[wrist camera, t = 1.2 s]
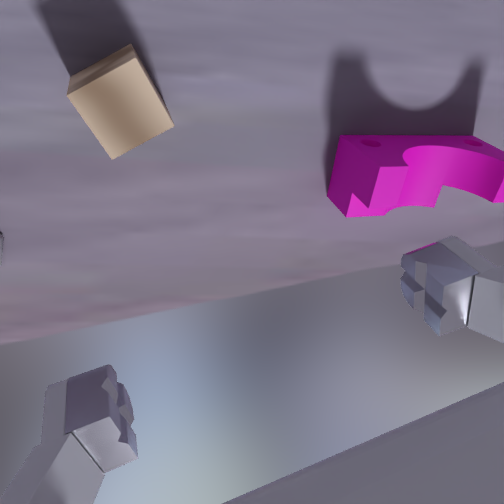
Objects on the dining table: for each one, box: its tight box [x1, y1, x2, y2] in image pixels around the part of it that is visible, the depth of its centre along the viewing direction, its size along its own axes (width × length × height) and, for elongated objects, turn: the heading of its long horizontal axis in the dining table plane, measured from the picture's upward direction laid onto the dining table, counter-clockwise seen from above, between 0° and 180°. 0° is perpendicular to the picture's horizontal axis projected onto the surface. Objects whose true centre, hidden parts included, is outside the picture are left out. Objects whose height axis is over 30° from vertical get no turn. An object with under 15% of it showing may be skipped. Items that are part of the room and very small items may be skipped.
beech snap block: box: [67, 44, 174, 160], centre depth 31 cm, size 5×5×5 cm
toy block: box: [327, 135, 504, 217], centre depth 42 cm, size 15×6×8 cm, turn 84°
